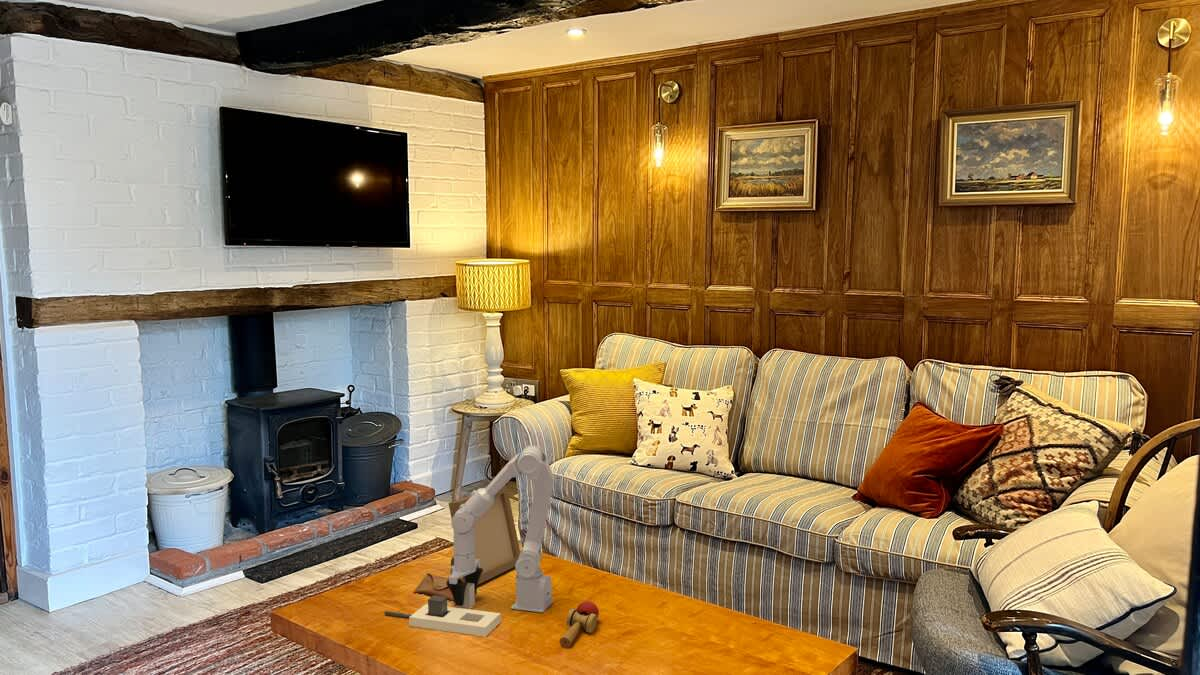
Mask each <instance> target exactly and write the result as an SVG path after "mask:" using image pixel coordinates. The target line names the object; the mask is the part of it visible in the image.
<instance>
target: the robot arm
mask: <svg viewBox="0 0 1200 675" xmlns="http://www.w3.org/2000/svg"><path fill="white" fill-rule="evenodd" d="M522 475H524V476H525V477H527V478H528V479H530V480H531V481H532V483H533V484H534V485H535V492H534V495H533V502H532V505H531V509H530V515H529V519H528V520H529V521H528V524H527V528H526V529H527V530H526V533H525V538H524V543H523V547H522V548H521V549H520V554H519V558H518V560H517V562H516V565H515V567H514V568H515V589H516V590H515V592H516V593H515V596H516V598H515V599H516V600H515V603H514V604H512V605H511V607H510V609H511V610H512V609H513V610H518V611H527V612H532V613H533V612H534V613H540V614H541V613H544V612H545V611H546V610H547V609H548V608H549V607H550V606H551V605H552V604H553V602H554V600H553V591H552V589H553V588H552V587H553V585H552V584H553V583H552V578H551V576H550V575H546V574H544V573H543V571H542V569H541V567H540V563H541V561H542V558H543V556H542V551H541V546H542V540H543V537H544V536H543V535H544V531H545V526H546V523H547V522H546V521H547V517H548V512H549V507H550V502H551V498H552V494H553V489H554V485H555V484H554V483H555V476H554V474H553V472H552V469H551V465H550V463H549V460H548V456H547V454H546V453H545V452H544V451H543V449H542V448H541V447H539V446H538V445H536V444H535V445H534V444H530V445H527V446H525V447H523V449H522V451H521V452H518V453H517V454H516V455H515V456H514V457H513V458H511V459H510V460H509V461H508V462H507V463H506V464H505V466H503V467H502V469H501V470H500V471H499V472H498V473H497V474H496V476H494V478H493V479H492V480H491V482H490V483H489V484H488V485H487V486H486V487H480V488H478V489H477V490H475V489H474V490H472V492H471V493H470V495H472V496H471V497H470V498H469V499H468V501H467V502H466V503H465V504H462V505H461V506H460V509H459V510H458V511H457V512H456V513H455V515H454V516H453V518H452V519H451V524H450V525H451V528H452V529H453V536H452V537H453V538H452V539H453V557H454V565H453V566H452V567H451V566H450V571H451V570H453V571H452V573H450V576H449V577H448V578H449V580H447V586H448V587H449V589H450V591H451V593H452V596H453V599H454V602H455V603H454V602H453V603H454V605H455V606H456V607H457V606H463V603H464V594H465V589H466V586H467V583H474V590H475V596H476V595H477V593H476V591H477V592H478V586H479V584H478V582H479V579H480V576H481V574H482V572H483V569H482V568H478V567H479V566H480V559H475V539H474V526H473V524H474V523H475V521H476V520H478V519H479V518H480V517H481V516H482V515H483V514H484V513H485V512H486V511H487V510H488V509H489V507H490V506H491V505H492V504H493V503H494V495H495V494H496V493H497V492H498V491H499V490H500V489H501V488H502V487H503V486H504V485H507V483H508V482H509V481H510V480H511V479H512V478H519V477H520V478H521V477H522ZM463 576H465V580H466V582H464V581H463V580H462V578H463Z"/></svg>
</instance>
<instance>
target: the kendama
mask: <svg viewBox="0 0 1200 675" xmlns="http://www.w3.org/2000/svg"><path fill="white" fill-rule="evenodd" d="M599 611H600V610H599V608H598V606H597V605H596V604H595V603H594V602H592V601H590V600H586V601H585V600H584V601H582V602H581V603H579V604H578V606H577V608H576V609H574V608H571V609H570V610H569V611H568V613H567V615H566V616H567V617H566V620H565V621H566V626H569V627H570V628H568V630H567V631H566V632H565V634H563V636H561V638H560V639H559V644H560V646H561V647H562V648H567V649H569V648H570V647H571V645H572V644H573V641H574V640H575V638H576V637H577V635H578V633H579V631H580V629H581V627H583V628H584V630H585V632H586V633H589V634H592V633H593V632H594V631H593V630H595V628H596V626H597V622H598V618H599ZM592 631H593V632H592Z"/></svg>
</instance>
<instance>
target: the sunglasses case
mask: <svg viewBox="0 0 1200 675" xmlns="http://www.w3.org/2000/svg"><path fill="white" fill-rule="evenodd" d="M447 580H449V577H444V576H439V575H434V574H432V573H429V572H428V573H426V576H424V578H423V579H422V580H421V581H420V583H419V584H418V585H417V587H416V588H415V590H414V591H412V592H413V593H412V594H416V593H418V594H417V595H422V594H424V595H423V596H427V597H431V596H433V595H435V596H443V597H447V601H448V600H449V602H451V601H453V602H452V603H454V599H453V596H452V593H451V591H450V589H449V587H448V586H447ZM477 592H478V590H477V591H476V594H477Z"/></svg>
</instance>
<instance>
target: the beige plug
mask: <svg viewBox="0 0 1200 675" xmlns="http://www.w3.org/2000/svg"><path fill="white" fill-rule="evenodd" d="M475 596H476V595H475V590H474V583H467V586H466V589H465V594H464V603H463V606H458V607H457V608H463V607H466V608H465V609H471V608H473V606H475V605H474V604H476V601H475V599H476V598H475ZM470 607H471V608H470Z"/></svg>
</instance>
